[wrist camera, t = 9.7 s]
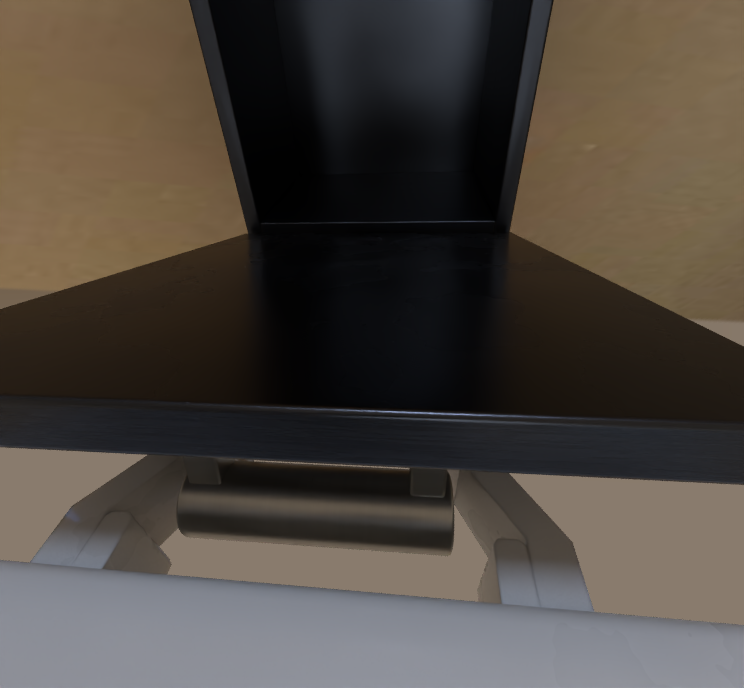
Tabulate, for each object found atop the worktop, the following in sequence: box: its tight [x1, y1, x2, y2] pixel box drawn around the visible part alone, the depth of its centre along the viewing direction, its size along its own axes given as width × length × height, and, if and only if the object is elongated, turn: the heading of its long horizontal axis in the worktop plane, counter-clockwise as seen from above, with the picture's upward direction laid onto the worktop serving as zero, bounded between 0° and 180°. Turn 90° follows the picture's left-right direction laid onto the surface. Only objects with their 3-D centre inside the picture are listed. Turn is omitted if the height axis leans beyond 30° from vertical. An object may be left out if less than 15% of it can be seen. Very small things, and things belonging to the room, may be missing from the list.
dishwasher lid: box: [0, 232, 744, 556], centre depth 13 cm, size 16×14×5 cm
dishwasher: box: [189, 0, 553, 234], centre depth 19 cm, size 16×14×10 cm
